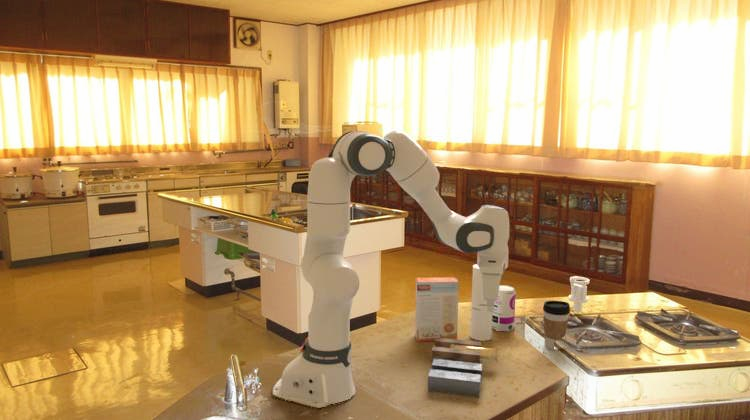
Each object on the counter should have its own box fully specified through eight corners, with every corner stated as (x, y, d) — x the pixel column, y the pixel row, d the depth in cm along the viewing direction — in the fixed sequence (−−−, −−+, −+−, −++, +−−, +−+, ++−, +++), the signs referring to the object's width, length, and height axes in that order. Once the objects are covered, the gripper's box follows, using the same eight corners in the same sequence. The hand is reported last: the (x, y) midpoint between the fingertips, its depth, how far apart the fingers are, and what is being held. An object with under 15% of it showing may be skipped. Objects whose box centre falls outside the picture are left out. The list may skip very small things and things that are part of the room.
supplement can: (516, 326, 197) (518, 287, 194) (509, 334, 190) (511, 293, 187) (495, 322, 201) (497, 283, 199) (487, 329, 194) (488, 289, 192)
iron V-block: (427, 391, 150) (428, 375, 149) (433, 372, 160) (433, 358, 160) (479, 397, 146) (480, 382, 146) (481, 378, 157) (482, 363, 156)
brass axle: (449, 357, 164) (450, 345, 165) (450, 354, 168) (451, 343, 168) (496, 362, 161) (497, 350, 161) (497, 359, 165) (497, 347, 165)
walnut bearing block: (431, 369, 163) (431, 350, 162) (435, 355, 173) (436, 337, 172) (478, 374, 160) (479, 355, 159) (480, 360, 169) (481, 342, 168)
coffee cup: (564, 353, 174) (567, 309, 172) (537, 348, 179) (540, 304, 176) (570, 344, 181) (573, 301, 179) (544, 339, 186) (547, 297, 183)
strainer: (564, 311, 213) (566, 274, 211) (579, 309, 215) (582, 273, 213) (574, 317, 207) (577, 279, 204) (590, 316, 208) (593, 278, 206)
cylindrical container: (491, 341, 183) (494, 270, 179) (470, 339, 185) (472, 268, 181) (491, 333, 190) (494, 264, 186) (470, 332, 192) (473, 263, 188)
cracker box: (454, 334, 190) (456, 276, 186) (457, 341, 184) (459, 281, 180) (414, 334, 189) (415, 276, 186) (416, 341, 183) (417, 281, 180)
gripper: (483, 251, 169) (481, 294, 171) (479, 268, 149) (478, 316, 152) (504, 252, 168) (502, 295, 170) (503, 270, 148) (501, 318, 150)
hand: (490, 305), depth 161 cm, fingers open, 8 cm apart
